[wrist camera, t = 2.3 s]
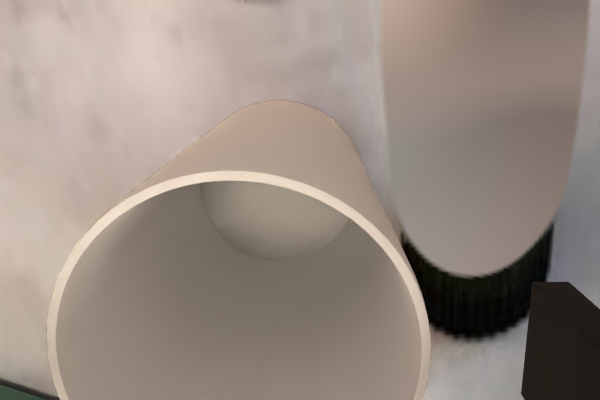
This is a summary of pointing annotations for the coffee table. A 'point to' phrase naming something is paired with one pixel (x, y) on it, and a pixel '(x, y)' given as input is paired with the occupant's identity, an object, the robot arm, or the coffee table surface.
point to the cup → (244, 277)
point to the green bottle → (16, 394)
